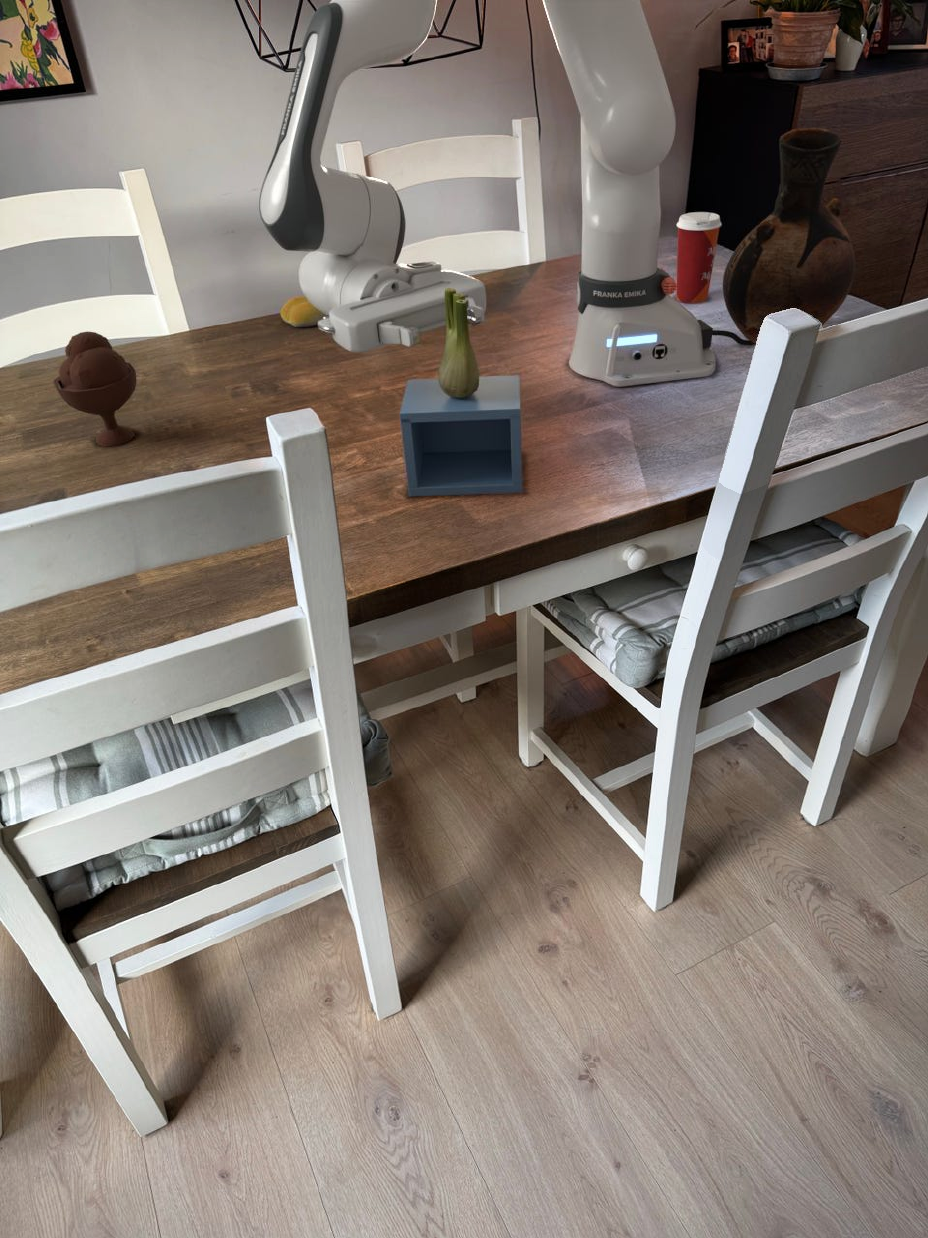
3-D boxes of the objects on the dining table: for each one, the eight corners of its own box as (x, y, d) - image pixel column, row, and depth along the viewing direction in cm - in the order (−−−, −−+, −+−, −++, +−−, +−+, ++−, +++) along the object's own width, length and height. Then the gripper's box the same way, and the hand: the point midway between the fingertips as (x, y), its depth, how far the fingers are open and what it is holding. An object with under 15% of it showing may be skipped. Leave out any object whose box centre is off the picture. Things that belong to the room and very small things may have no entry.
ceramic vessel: (790, 312, 148) (824, 114, 130) (868, 342, 136) (918, 127, 117) (691, 337, 142) (712, 132, 123) (763, 371, 129) (799, 148, 111)
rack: (521, 455, 113) (519, 374, 106) (522, 493, 105) (520, 408, 98) (416, 458, 114) (407, 379, 107) (409, 496, 106) (399, 413, 99)
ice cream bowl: (62, 442, 124) (23, 340, 115) (131, 415, 131) (99, 316, 121) (98, 462, 118) (60, 357, 109) (168, 433, 125) (137, 331, 115)
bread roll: (301, 331, 156) (297, 309, 154) (276, 320, 162) (271, 299, 159) (338, 319, 160) (335, 297, 158) (312, 309, 166) (309, 288, 163)
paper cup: (717, 303, 154) (727, 220, 146) (674, 306, 155) (681, 223, 146) (708, 290, 160) (717, 209, 152) (666, 292, 161) (673, 212, 152)
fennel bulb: (476, 403, 100) (470, 299, 92) (435, 403, 100) (426, 299, 93) (483, 384, 104) (478, 282, 97) (443, 383, 105) (436, 283, 98)
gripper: (306, 296, 101) (369, 323, 92) (444, 258, 111) (513, 279, 102) (315, 348, 105) (376, 379, 96) (447, 307, 114) (514, 331, 105)
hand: (448, 327), depth 99 cm, fingers open, 8 cm apart
